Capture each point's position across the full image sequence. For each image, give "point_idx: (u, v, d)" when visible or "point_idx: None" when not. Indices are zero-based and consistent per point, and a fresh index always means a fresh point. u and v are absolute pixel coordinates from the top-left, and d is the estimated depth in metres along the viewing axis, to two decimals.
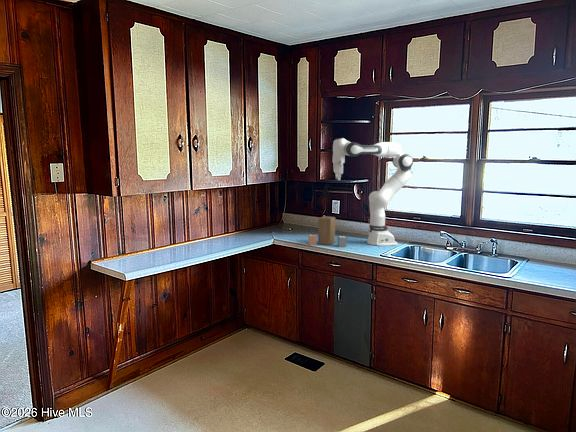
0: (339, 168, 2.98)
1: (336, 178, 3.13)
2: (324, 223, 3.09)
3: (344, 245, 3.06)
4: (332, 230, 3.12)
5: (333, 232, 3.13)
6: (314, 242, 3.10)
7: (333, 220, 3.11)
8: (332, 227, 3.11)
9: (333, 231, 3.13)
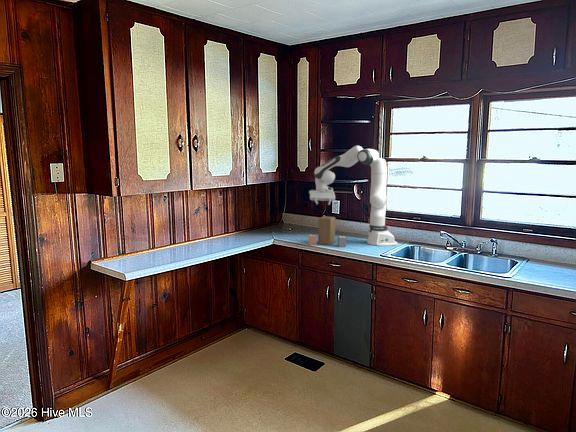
0: (310, 195, 3.35)
1: (328, 204, 3.32)
2: (324, 223, 3.09)
3: (344, 245, 3.06)
4: (332, 230, 3.12)
5: (333, 232, 3.13)
6: (314, 242, 3.10)
7: (333, 220, 3.11)
8: (332, 227, 3.11)
9: (333, 231, 3.13)
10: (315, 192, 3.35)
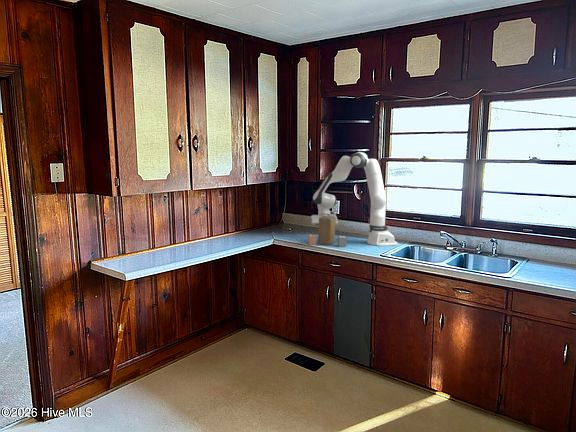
0: None
1: None
2: (325, 223, 3.09)
3: (344, 245, 3.06)
4: (333, 230, 3.12)
5: (333, 232, 3.13)
6: (314, 242, 3.10)
7: (333, 220, 3.11)
8: (332, 227, 3.11)
9: (333, 231, 3.13)
10: (317, 217, 3.26)
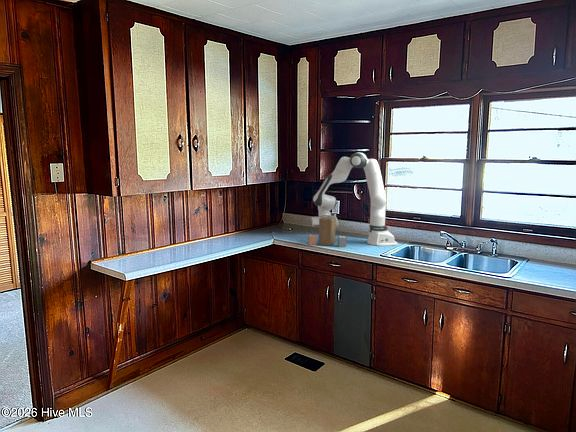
0: (312, 222, 3.25)
1: None
2: (325, 224, 3.07)
3: (344, 245, 3.06)
4: (333, 230, 3.10)
5: (333, 233, 3.12)
6: (314, 242, 3.10)
7: (334, 220, 3.10)
8: (333, 228, 3.09)
9: (333, 232, 3.12)
10: (317, 219, 3.24)
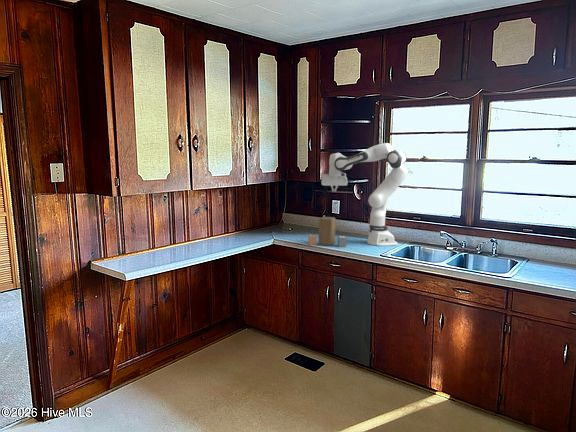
0: None
1: (334, 190, 3.31)
2: (325, 224, 3.07)
3: (344, 245, 3.06)
4: (333, 230, 3.10)
5: (333, 233, 3.12)
6: (314, 242, 3.10)
7: (333, 220, 3.10)
8: (333, 228, 3.09)
9: (333, 232, 3.12)
10: (327, 178, 3.27)
